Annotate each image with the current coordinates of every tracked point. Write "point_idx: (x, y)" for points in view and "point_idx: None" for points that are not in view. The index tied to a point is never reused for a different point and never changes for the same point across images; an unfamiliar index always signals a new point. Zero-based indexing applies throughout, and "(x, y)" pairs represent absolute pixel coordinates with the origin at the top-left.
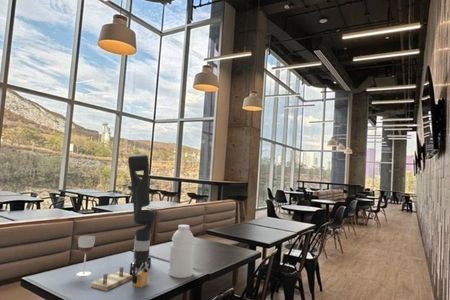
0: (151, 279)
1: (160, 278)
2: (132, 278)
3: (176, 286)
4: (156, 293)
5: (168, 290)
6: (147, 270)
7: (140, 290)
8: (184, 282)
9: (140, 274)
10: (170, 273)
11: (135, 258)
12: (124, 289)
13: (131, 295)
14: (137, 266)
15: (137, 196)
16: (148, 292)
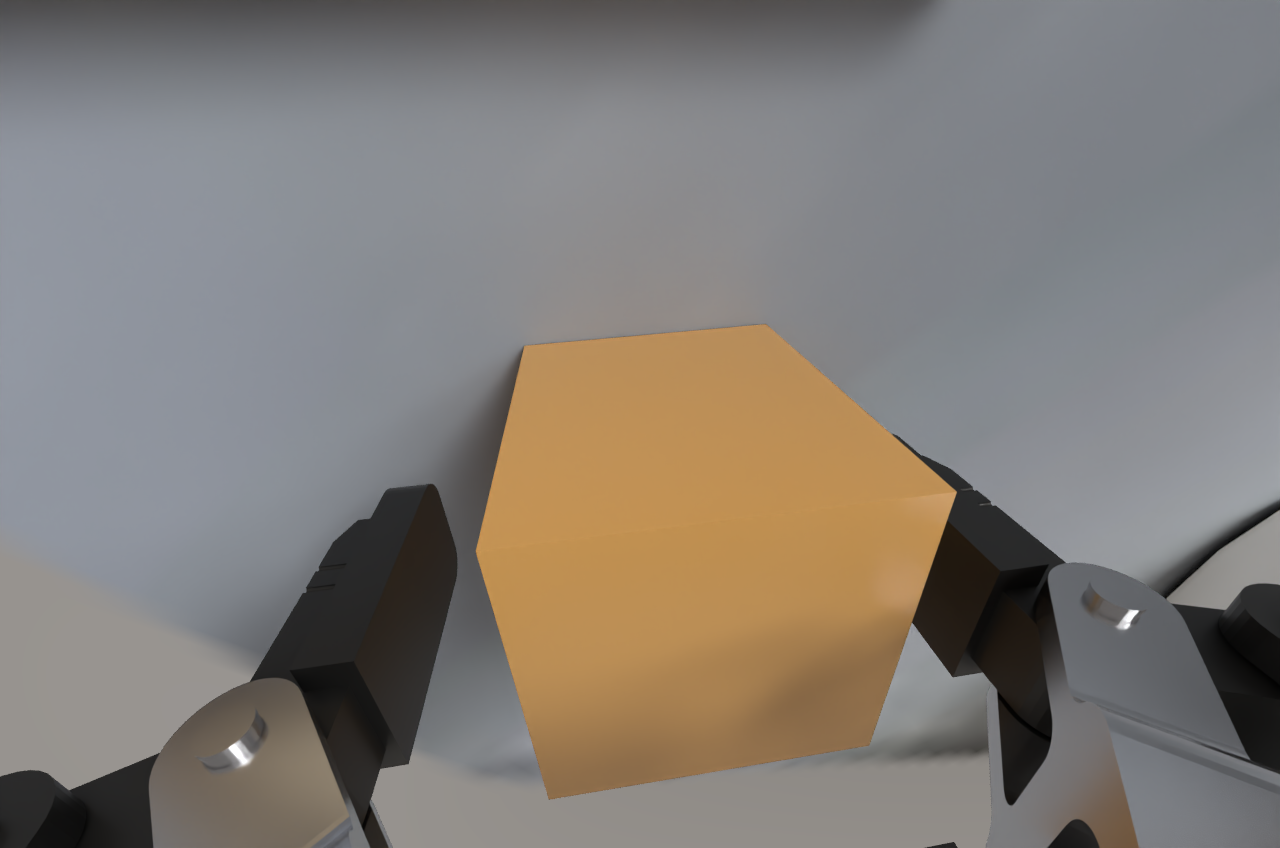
0: (1010, 415)
1: (1089, 498)
2: (293, 614)
3: (841, 760)
4: (533, 760)
5: (693, 775)
6: (1004, 697)
7: (455, 599)
8: (987, 744)
9: (589, 739)
10: (1262, 580)
11: None
12: (217, 356)
13: (188, 634)
14: None
15: None
16: (487, 700)
